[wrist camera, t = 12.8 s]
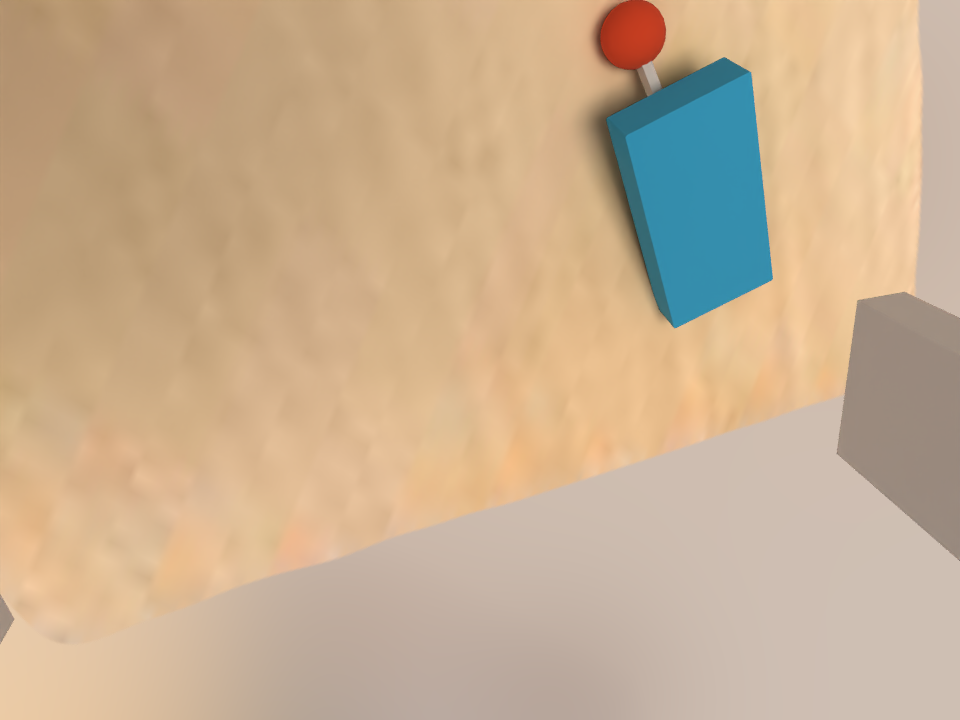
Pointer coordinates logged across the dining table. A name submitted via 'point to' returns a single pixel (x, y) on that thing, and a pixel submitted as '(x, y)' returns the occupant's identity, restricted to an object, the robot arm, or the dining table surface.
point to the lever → (689, 171)
